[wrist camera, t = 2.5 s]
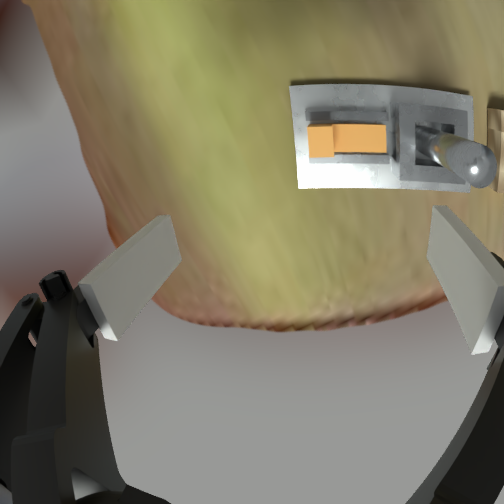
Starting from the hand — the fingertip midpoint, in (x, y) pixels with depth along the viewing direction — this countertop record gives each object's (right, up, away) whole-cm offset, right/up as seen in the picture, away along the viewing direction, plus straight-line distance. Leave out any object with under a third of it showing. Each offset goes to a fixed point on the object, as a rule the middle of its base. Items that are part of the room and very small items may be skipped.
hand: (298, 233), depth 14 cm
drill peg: (+17, +12, +13) cm, 25 cm away
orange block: (+8, +12, +15) cm, 21 cm away
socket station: (+14, +12, +15) cm, 24 cm away
